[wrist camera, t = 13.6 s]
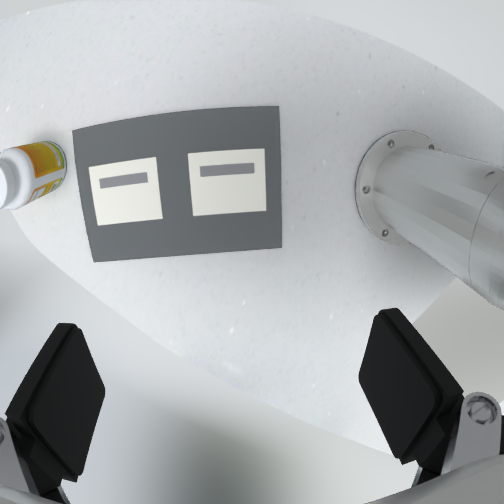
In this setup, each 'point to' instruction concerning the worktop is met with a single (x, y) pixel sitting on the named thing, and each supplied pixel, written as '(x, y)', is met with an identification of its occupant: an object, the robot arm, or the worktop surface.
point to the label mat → (181, 183)
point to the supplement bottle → (29, 173)
